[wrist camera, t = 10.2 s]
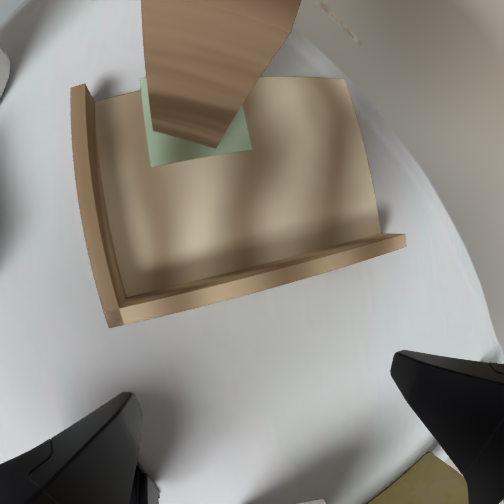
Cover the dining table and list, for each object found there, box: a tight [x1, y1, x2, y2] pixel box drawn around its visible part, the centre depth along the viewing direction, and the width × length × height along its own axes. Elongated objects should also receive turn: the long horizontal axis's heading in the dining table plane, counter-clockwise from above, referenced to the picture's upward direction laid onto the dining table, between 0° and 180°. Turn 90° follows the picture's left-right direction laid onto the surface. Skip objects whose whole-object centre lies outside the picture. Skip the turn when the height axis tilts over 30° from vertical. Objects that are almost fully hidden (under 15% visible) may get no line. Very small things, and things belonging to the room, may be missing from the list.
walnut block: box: [141, 0, 301, 149], centre depth 12 cm, size 4×4×13 cm
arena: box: [71, 77, 407, 328], centre depth 18 cm, size 22×16×3 cm
